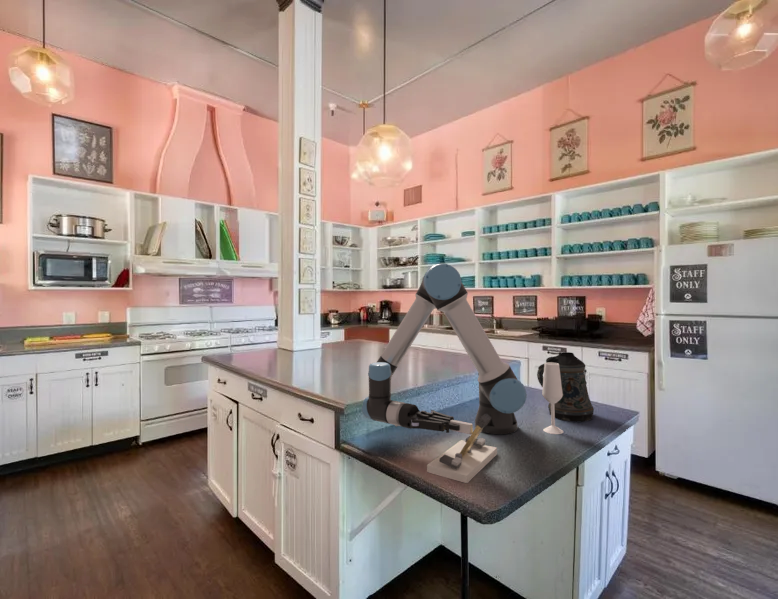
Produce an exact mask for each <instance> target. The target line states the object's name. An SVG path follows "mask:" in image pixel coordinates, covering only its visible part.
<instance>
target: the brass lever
mask: <svg viewBox="0 0 778 599" xmlns="http://www.w3.org/2000/svg"><path fill="white" fill-rule="evenodd" d="M490 420H491V417H490V416H489V415H488V414H484V415H483V416H481V417H480V418H479V420H478V421H477V423H476V424H477V426H476V427H475V428H474V429H473V433H472V434H471V435H469V436H470V438H469V439H468V441H467V442H466V444H465V446H464V447H463V449H462V450H461V452H460V454H462V457H463V456H464V455H466V454H467V453H468V451H469V450H470V448H471V447H472V445H473V444H474V442H475V440H476V439H478V437H479V436H480V434H481V433H482V429H483V428H484V427H485V426H486V425H487V424H488V423H489V421H490Z"/></svg>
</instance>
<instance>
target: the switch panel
mask: <svg viewBox="0 0 778 599" xmlns="http://www.w3.org/2000/svg"><path fill="white" fill-rule="evenodd" d="M465 441H466V440H462V439H460V440H459V441H457V443H454V444H453V445H452V446H451V447H450V448H448V449H447V450H445V451H444V452H442V453H441V454H439V455H438V456H437V457H436V458H434V459H433V460H432V461H430V462H429V463H428V464H426V472H427V473H429V474H433V475H437V476H440V477H442V478H446V479H450V480H453V481H457V482H462V483H464V484H468V483H469V482H471V480H472V479H473V478H474V477H476V475H477V474H478V473H479V472H480V471H481V470H482V469H484V468H485V467H486V465H488V464H489V463H490V462H491V461H492V460H493V459H494V458H495V457H496V456H497V455H498V447H495V446H490V445H486V444H485V445H484V446H483V447H482V448H479V447H477V446H474V445H472V447H471V448H470V450H469V451H468V453H467V454H466V455H464V456H463V457H462V454H460V452H461V450H462V449H463V447H464V446H465V444H466V442H465ZM444 455H447V456H450V457H452V458H454V459H455V458H456V457H458V458H461V459H462V463H461V466H460V467H459V468H457V469H454V468H452V467H450V466H448V465H446V464H443V463H441V462H439V461H440V458H441V457H442V456H444Z"/></svg>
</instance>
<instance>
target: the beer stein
mask: <svg viewBox="0 0 778 599" xmlns="http://www.w3.org/2000/svg"><path fill="white" fill-rule="evenodd" d="M548 362H551V363H558V364H559V369H560V377H561V385H562V393H563V396H562V398H561V399H560V400H559V401H558V402H557V403H555V404H554V409H555V419H558V420H560V421H566V422H573V423H579V422H581V423H582V422H583V423H584V422H588V421H591V420H593V416H594V411H595V410H594V407H593V404H592V403H591V402H592V401H591V399H590V396H589V392H588V386H587V381H586V375H585V370H586V364H585V363H584V361H582V360H581V359H579V358H578V357H576V356H575V354H574V352H568V351H565V352H564V351H561V352H559V353H558V354H557V355H555V356H550V357H547V358H546V360H545V363H548ZM545 363H543V364H540V365H539V366H538V367H537V373H536V376H537V377H536V378H537V381H538V382H539V385H540V387H541V388H543V378H544V364H545ZM547 408H548V411H549V415H550V416H551V403H549V402H548V406H547Z"/></svg>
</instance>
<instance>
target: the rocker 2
mask: <svg viewBox="0 0 778 599" xmlns="http://www.w3.org/2000/svg"><path fill="white" fill-rule="evenodd" d="M470 436H471V435H469V436H468V437H466V438H465V440H464V441H465V442H467V441H468V439H469V438H470ZM473 445H474V446H477V447H479V448H482V447H483V446H484V445H486V438H483V437H479V438H477V439H476V440H475V442H474V444H473Z"/></svg>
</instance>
